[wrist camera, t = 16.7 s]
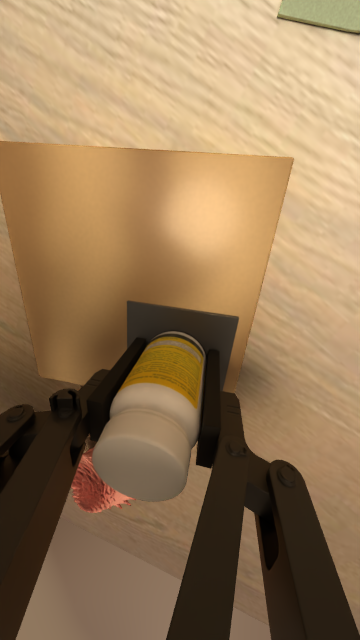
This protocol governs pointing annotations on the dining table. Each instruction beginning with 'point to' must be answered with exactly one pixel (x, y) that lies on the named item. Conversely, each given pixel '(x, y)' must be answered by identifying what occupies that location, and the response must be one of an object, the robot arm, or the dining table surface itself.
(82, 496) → the pink ruffled round piece
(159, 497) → the supplement bottle
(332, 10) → the cloth
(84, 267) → the board
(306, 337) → the dining table surface
